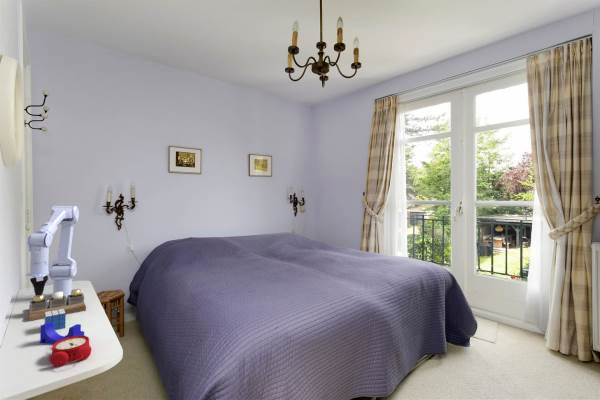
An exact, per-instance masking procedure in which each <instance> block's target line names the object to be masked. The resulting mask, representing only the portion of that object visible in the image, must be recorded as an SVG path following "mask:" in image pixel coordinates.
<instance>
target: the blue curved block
mask: <svg viewBox="0 0 600 400" xmlns="http://www.w3.org/2000/svg"><path fill="white" fill-rule="evenodd" d="M39 333H40V334H39V335H40V336H39V337H40V338H39V341H40V342H39V344H47V345H54V344H55V343H56V341H60V340H62V339H65V338H68V337H72V336H84V335H85V331H83V330H82V324H80V323H76V324H74V325H72V326H71V327H69V328H68V332H67V334H66V335H60V334H59V333H58V332H57V330H55V329H54V327H53V322H48V323H45V322H44V323H43V324H42V325H40V332H39Z"/></svg>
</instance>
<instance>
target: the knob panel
mask: <svg viewBox="0 0 600 400" xmlns="http://www.w3.org/2000/svg"><path fill="white" fill-rule="evenodd" d="M28 309H29V310H28V311H29V317H28V318H29V322H33V321H37V320H42V319H44V320H45V312H49V311H54V310H60V309H64V310H65V313H66V315H70V314H75V313H80V312H85V311H87V305H86V304H85V295H84V293H83V292H81V296H78V297H71V295H68V296H67V298H66V296H63V299H59V300H53V297H52V296H51V297H49V299H48V298H46V297H45V298H44V302H40V303H34V304H33V300H30V301H29V307H28Z"/></svg>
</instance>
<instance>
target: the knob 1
mask: <svg viewBox="0 0 600 400" xmlns="http://www.w3.org/2000/svg"><path fill="white" fill-rule="evenodd" d="M32 297H33V299H32V301H33V304H34V303H40V302H44V299H45V294H44V293H43V294H42V295H37V296H36V295H35V294H34V295H33V296H32Z"/></svg>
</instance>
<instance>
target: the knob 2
mask: <svg viewBox="0 0 600 400" xmlns="http://www.w3.org/2000/svg"><path fill="white" fill-rule="evenodd" d="M81 290H82V289H80V288H75V289H72V290H71V297H78V296H81V293H82V291H81Z"/></svg>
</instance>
